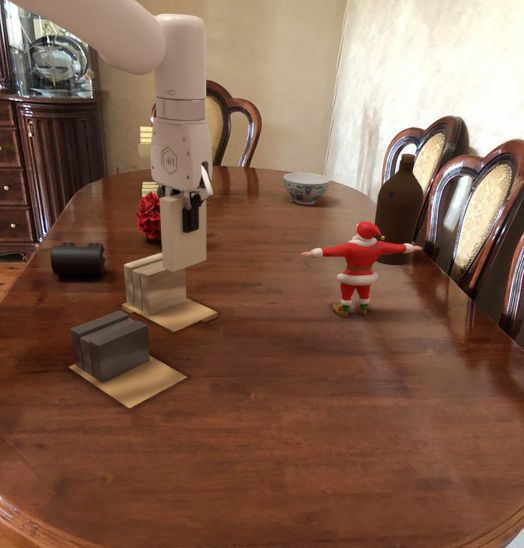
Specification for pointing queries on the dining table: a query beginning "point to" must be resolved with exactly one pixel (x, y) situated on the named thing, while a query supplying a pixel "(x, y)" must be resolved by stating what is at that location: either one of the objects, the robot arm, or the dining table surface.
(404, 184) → the olive oil
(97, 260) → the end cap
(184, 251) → the cream book
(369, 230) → the santa figurine
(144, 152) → the slatted curved stool
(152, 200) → the carnation
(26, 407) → the dining table surface
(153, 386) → the grey book stand
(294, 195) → the chinaware
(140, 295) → the cream book stand
